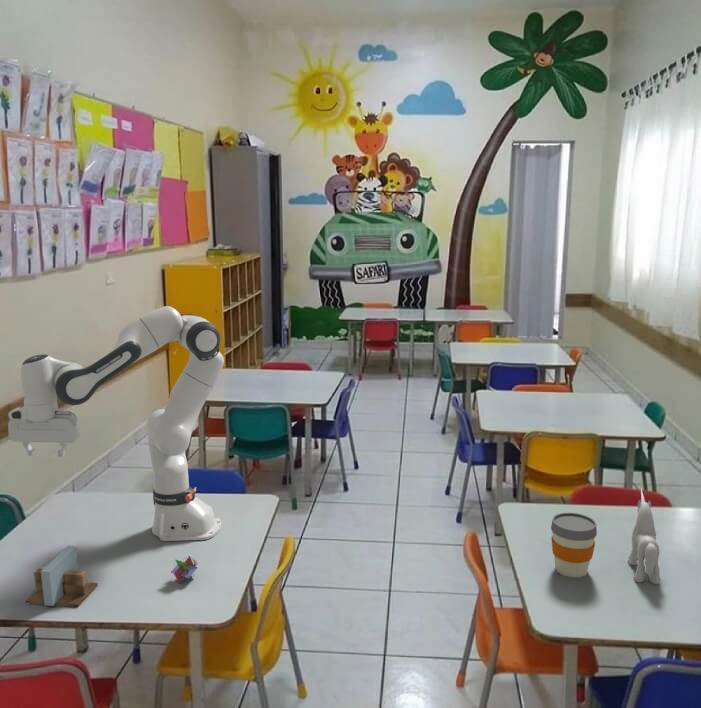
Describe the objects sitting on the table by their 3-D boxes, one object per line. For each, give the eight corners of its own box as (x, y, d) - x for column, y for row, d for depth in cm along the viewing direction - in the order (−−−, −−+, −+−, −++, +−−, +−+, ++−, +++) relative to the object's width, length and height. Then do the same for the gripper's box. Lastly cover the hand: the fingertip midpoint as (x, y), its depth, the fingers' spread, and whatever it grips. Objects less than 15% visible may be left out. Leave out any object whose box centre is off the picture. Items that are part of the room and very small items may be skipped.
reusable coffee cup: (540, 568, 206) (542, 520, 203) (564, 554, 214) (567, 508, 210) (578, 585, 196) (581, 536, 193) (602, 570, 204) (606, 522, 201)
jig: (97, 585, 199) (95, 563, 197) (78, 607, 188) (76, 584, 187) (47, 582, 201) (45, 560, 199) (25, 603, 190) (23, 580, 189)
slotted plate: (71, 578, 201) (68, 545, 199) (79, 578, 201) (76, 546, 199) (44, 605, 188) (40, 571, 186) (53, 605, 187) (49, 571, 185)
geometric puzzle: (179, 584, 195) (190, 556, 197) (162, 578, 198) (173, 550, 201) (195, 589, 200) (206, 561, 203) (177, 582, 204) (188, 555, 207)
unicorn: (649, 548, 217) (654, 488, 212) (664, 591, 193) (670, 524, 189) (623, 546, 218) (627, 485, 214) (635, 588, 195) (640, 521, 190)
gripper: (80, 408, 207) (85, 452, 210) (15, 406, 209) (20, 451, 212) (70, 414, 201) (75, 460, 204) (2, 413, 203) (8, 458, 206)
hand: (46, 455), depth 208 cm, fingers open, 8 cm apart
